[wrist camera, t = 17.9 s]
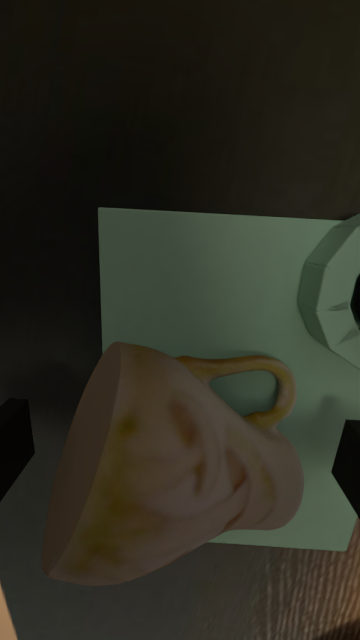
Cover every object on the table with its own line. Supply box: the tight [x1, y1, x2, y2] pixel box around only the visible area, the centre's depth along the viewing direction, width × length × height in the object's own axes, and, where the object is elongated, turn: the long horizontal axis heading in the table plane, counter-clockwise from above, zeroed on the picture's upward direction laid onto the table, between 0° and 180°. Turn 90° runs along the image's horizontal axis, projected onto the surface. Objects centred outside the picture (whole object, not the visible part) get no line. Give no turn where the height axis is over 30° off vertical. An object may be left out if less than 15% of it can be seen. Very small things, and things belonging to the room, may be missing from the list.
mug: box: [42, 341, 304, 586], centre depth 10 cm, size 8×10×10 cm
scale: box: [98, 207, 360, 551], centre depth 13 cm, size 18×14×4 cm
